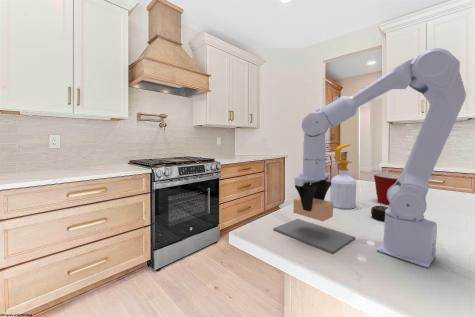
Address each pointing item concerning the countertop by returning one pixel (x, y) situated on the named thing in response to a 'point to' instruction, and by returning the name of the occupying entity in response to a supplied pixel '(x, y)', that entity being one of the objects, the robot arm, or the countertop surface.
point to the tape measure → (378, 212)
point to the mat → (315, 235)
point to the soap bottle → (343, 185)
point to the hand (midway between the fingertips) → (312, 208)
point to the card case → (315, 209)
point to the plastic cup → (384, 185)
